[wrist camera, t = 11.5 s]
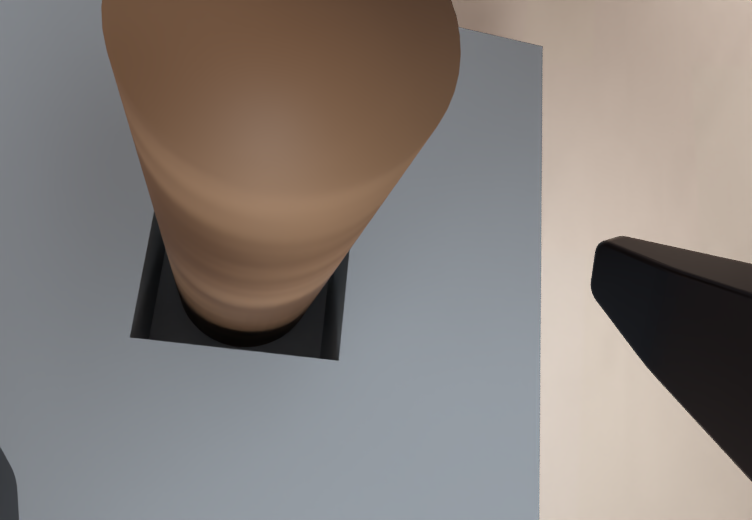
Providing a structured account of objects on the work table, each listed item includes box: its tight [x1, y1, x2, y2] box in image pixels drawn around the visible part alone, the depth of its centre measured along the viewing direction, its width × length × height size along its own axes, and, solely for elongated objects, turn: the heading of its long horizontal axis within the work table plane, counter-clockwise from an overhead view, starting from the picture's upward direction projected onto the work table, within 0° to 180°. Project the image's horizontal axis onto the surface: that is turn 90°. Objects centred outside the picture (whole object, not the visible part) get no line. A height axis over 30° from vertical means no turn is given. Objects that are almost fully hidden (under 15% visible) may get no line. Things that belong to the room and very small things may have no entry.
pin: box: [101, 0, 461, 347], centre depth 13 cm, size 4×4×13 cm
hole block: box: [0, 0, 543, 520], centre depth 18 cm, size 16×16×4 cm
